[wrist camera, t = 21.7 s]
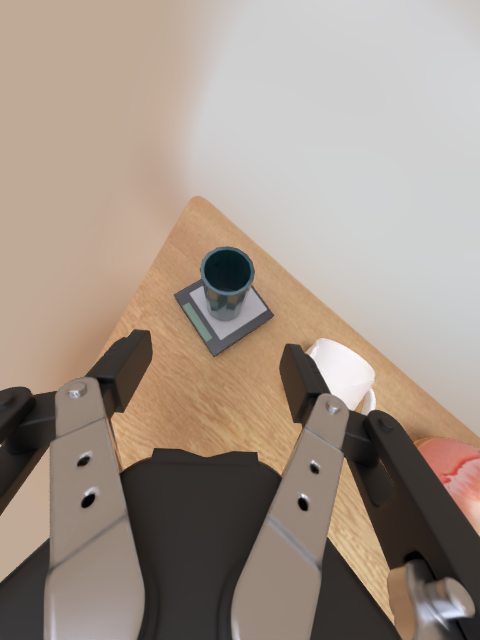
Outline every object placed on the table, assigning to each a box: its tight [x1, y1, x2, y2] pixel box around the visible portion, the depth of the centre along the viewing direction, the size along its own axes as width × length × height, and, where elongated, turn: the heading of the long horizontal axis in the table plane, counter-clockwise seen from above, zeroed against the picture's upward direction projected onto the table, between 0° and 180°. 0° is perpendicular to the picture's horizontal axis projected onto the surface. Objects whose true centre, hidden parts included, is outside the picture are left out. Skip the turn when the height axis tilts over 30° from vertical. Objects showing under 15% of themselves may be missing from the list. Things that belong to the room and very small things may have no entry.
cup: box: [200, 246, 255, 321], centre depth 26 cm, size 6×6×11 cm
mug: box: [305, 338, 376, 416], centre depth 29 cm, size 12×9×8 cm
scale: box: [174, 279, 274, 357], centre depth 33 cm, size 12×12×3 cm
